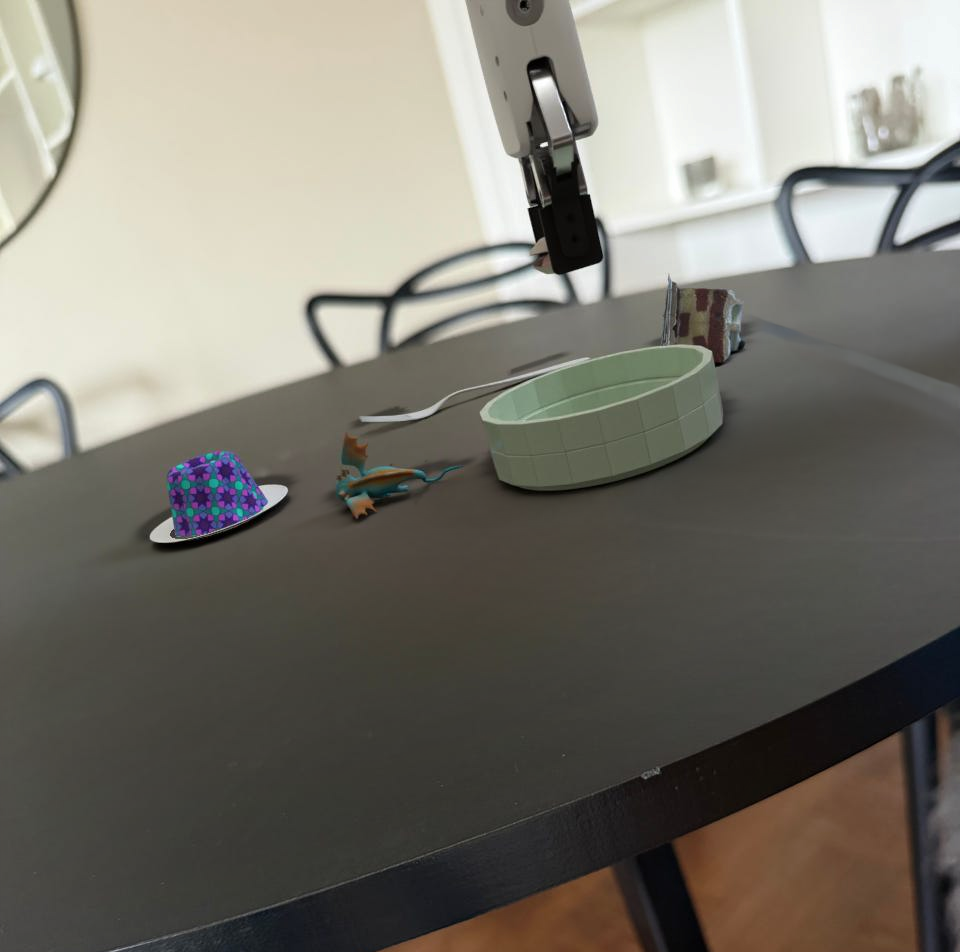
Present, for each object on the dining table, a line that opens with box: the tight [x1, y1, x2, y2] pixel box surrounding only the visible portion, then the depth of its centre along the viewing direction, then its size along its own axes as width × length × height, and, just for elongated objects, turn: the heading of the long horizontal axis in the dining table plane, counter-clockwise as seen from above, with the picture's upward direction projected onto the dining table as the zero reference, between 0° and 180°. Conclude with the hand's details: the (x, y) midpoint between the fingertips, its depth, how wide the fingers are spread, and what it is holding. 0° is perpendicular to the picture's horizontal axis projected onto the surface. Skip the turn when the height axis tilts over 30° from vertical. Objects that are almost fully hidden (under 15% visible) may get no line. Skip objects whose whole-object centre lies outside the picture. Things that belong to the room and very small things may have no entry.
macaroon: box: [529, 237, 556, 275], centre depth 66 cm, size 4×5×2 cm
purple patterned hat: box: [149, 450, 289, 544], centre depth 85 cm, size 12×12×5 cm
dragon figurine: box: [334, 431, 464, 519], centre depth 77 cm, size 6×7×8 cm
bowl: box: [479, 344, 724, 492], centre depth 72 cm, size 16×16×5 cm
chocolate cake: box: [660, 274, 746, 364], centre depth 91 cm, size 10×7×12 cm
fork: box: [358, 357, 591, 424], centre depth 102 cm, size 3×24×2 cm, turn 106°
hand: (571, 262), depth 66 cm, fingers closed on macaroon, 4 cm apart
